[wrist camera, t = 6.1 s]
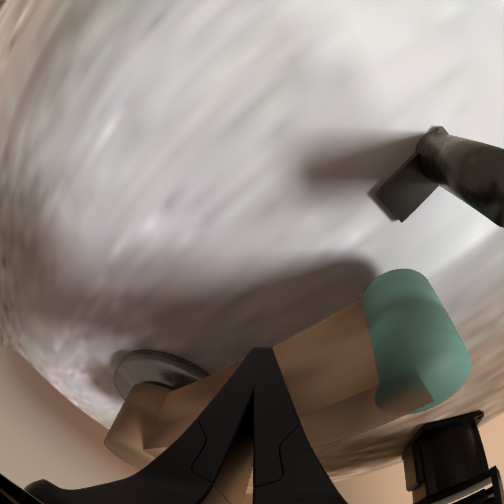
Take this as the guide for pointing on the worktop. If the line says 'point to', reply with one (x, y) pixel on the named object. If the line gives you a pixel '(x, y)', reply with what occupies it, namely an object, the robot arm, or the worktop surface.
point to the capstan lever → (327, 372)
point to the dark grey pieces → (398, 201)
